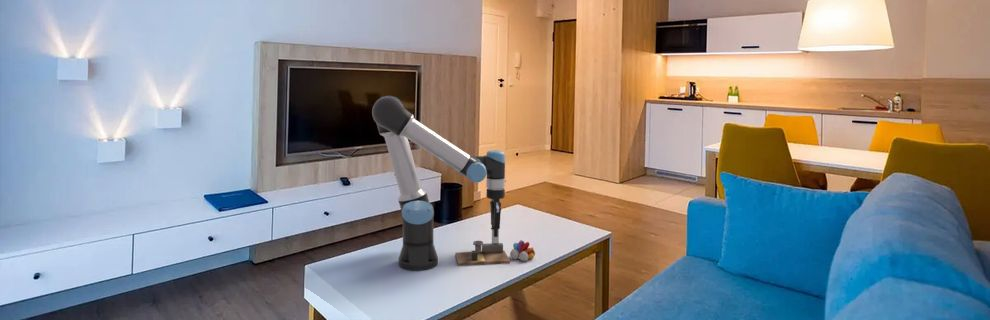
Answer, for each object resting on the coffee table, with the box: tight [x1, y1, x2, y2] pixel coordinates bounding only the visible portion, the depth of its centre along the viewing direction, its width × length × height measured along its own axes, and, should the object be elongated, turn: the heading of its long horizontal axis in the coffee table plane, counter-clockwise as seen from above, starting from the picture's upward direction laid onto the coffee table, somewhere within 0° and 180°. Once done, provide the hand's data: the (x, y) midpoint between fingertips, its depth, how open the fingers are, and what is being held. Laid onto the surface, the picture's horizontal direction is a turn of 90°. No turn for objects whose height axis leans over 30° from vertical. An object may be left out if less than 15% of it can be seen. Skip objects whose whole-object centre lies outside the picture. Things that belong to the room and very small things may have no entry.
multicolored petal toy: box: [509, 239, 536, 262], centre depth 212 cm, size 8×10×7 cm
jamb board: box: [455, 240, 511, 267], centre depth 211 cm, size 20×13×5 cm, turn 99°
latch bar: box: [481, 242, 504, 253], centre depth 216 cm, size 8×2×3 cm, turn 99°
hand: (495, 243), depth 223 cm, fingers closed
